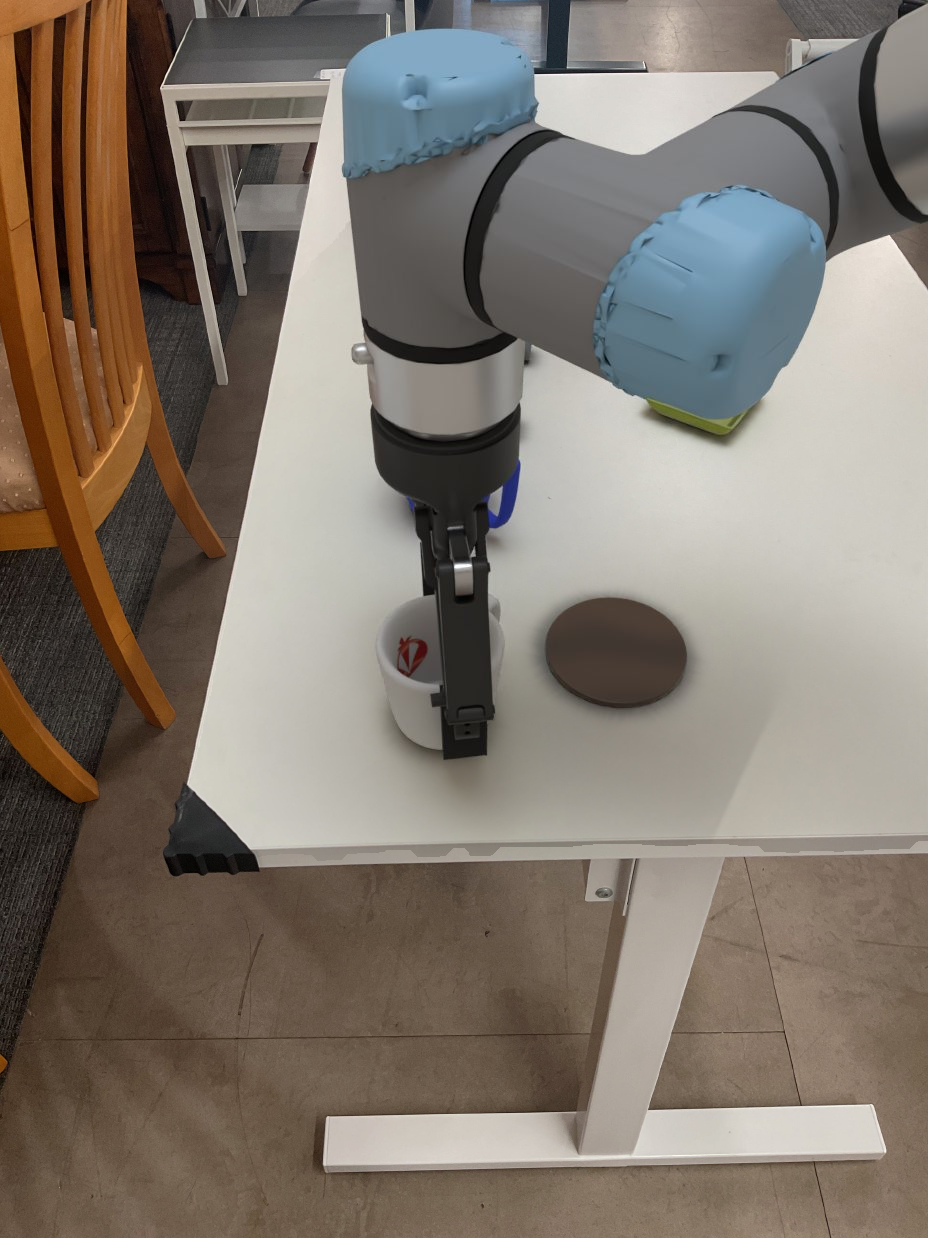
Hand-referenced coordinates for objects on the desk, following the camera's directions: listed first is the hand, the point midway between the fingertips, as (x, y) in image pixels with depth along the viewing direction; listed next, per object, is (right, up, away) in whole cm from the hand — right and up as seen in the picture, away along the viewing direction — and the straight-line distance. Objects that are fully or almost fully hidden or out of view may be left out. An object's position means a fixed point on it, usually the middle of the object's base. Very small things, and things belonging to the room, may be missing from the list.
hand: (453, 677), depth 62 cm
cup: (0, -2, +2) cm, 3 cm away
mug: (+1, +12, +15) cm, 19 cm away
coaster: (+12, +2, +5) cm, 13 cm away
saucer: (+23, +23, +25) cm, 41 cm away
